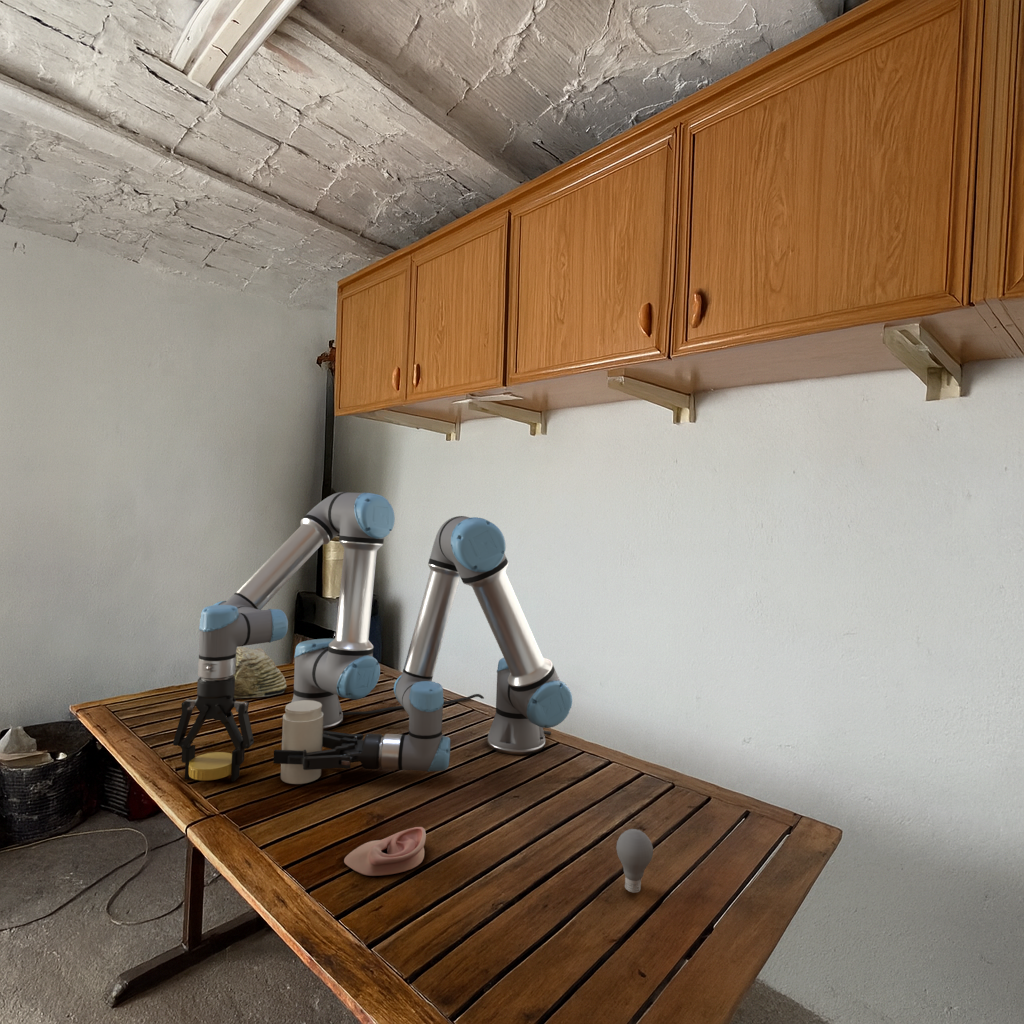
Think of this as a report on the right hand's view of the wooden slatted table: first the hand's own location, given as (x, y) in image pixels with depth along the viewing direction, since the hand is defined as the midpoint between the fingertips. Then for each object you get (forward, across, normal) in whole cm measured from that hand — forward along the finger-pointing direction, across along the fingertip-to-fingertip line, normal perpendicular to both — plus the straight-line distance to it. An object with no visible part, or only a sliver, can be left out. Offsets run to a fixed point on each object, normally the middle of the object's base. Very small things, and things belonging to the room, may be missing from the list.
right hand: (281, 748), depth 143 cm
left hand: (+14, -3, -6) cm, 15 cm away
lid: (+14, -3, -2) cm, 14 cm away
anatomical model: (-29, -32, -6) cm, 44 cm away
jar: (-5, 0, -6) cm, 8 cm away
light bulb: (-72, -39, -6) cm, 82 cm away
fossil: (+27, +55, -6) cm, 62 cm away
